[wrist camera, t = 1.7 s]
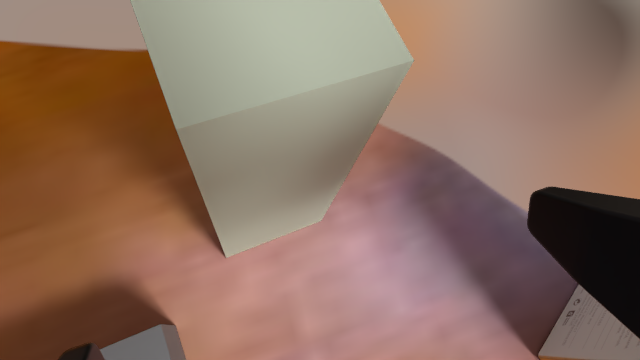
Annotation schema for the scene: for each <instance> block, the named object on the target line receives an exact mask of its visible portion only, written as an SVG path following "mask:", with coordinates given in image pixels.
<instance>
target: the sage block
mask: <svg viewBox="0 0 640 360" xmlns="http://www.w3.org/2000/svg"><path fill="white" fill-rule="evenodd" d="M130 1H131V4H132V7H133V10H134V12H135V15H136V18H137V21H138V24H139V27H140V29H141V32H142V35H143V38H144V41H145V43H146V46H147V49H148V52H149V55H150V58H151V60H152V63H153V66H154V69H155V72H156V75H157V77H158V80H159V83H160V86H161V89H162V91H163V94H164V97H165V100H166V103H167V106H168V108H169V111H170V114H171V117H172V120H173V122H174V125H175V128H176V131H177V133H178V136H179V138H180V141H181V144H182V146H183V149H184V151H185V154H186V156H187V159H188V161H189V164H190V167H191V169H192V172H193V174H194V177H195V179H196V182H197V184H198V187H199V190H200V192H201V195H202V197H203V200H204V202H205V205H206V207H207V210H208V213H209V215H210V218H211V220H212V223H213V225H214V228H215V230H216V233H217V236H218V238H219V241H220V243H221V246H222V248H223V251H224V253H225V256H226V258H228V257H230V256H233V255H235V254H238V253H240V252H243V251H246V250H248V249H251V248H253V247H256V246H258V245H261V244H263V243H266V242H269V241H271V240H274V239H276V238H279V237H281V236H284V235H287V234H289V233H292V232H294V231H297V230H299V229H302V228H304V227H307V226H310V225H312V224H315V223H317V222H320V221H321V220H322V219H323V217H324V215H325V213H326V212H327V210H328V208H329V206H330V205H331V203H332V201H333V200H334V198H335V196H336V194H337V193H338V191H339V189H340V187H341V186H342V184H343V182H344V181H345V179H346V177H347V175H348V174H349V172H350V170H351V169H352V167H353V165H354V163H355V162H356V160H357V158H358V156H359V155H360V153H361V151H362V150H363V148H364V146H365V144H366V143H367V141H368V139H369V137H370V136H371V134H372V132H373V131H374V129H375V127H376V125H377V124H378V122H379V120H380V118H381V117H382V115H383V113H384V111H385V110H386V108H387V106H388V105H389V103H390V101H391V99H392V98H393V96H394V94H395V93H396V91H397V89H398V87H399V86H400V84H401V82H402V80H403V79H404V77H405V75H406V74H407V72H408V70H409V68H410V67H411V65H412V63H413V62H414V59H413V58H412V56H411V54H410V52H409V51H408V49H407V47H406V46H405V44H404V42H403V40H402V39H401V37H400V35H399V34H398V32H397V30H396V28H395V27H394V25H393V23H392V22H391V20H390V18H389V16H388V15H387V13H386V12H385V9H384V8H383V6H382V4H381V3H380V1H379V0H130Z"/></svg>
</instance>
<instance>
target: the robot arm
mask: <svg viewBox="0 0 640 360" xmlns="http://www.w3.org/2000/svg"><path fill="white" fill-rule="evenodd" d="M527 226H528V229H529V231H530V233H531V234H532V235H533V236H534V237H535V238H536V239H537V241H538V242H539V243H540V244H541V245H542V246H543V247H544V248H545V249H546V250H547V251H548V252H549V253H550V254H551V255H552V256H553V258H554V259H555V260H556V261H557V262H558V263H559V264H560V265H561V266H562V267H563V268H564V269H565V270H566V271H567V272H568V273H569V275H570V276H571V277H572V278H573V279H574V280H575V281H576V282H577V283H578V284H579V285H580V286H581V287H582V288H583V289H584V290H586V291H587V292H588V293H589V294H590V295H591V296H592V297H593V298H594V299H595V300H596V301H598V302H599V303H600V304H601V305H602V306H603V307H604V308H605V309H607V310H608V311H609V312H610V313H611V314H612V315H613V316H614V317H615V318H617V319H618V320H619V321H620V322H621V323H622V324H623V325H624V326H625V327H627V328H628V329H629V330H630V331H631V332H632V333H633V334H634V335H636V336H637V337H638V338H639V339H640V199H634V198H626V197H619V196H613V195H606V194H599V193H592V192H585V191H579V190H572V189H565V188H558V187H546V188H543V189H540V190H537V191H535V192H533V194H532V195H531V197H530V203H529V211H528V219H527ZM58 360H105V359H104V357H103V355H102V353H101V351H100V349H99V348H98V346H97V345H96V344H95V343H91V342H90V343H86V344H83V345H80V346H77V347H74V348H71V349H69V350H67V351H65V352H64V353H63V354H62V355H61V356H60V358H59V359H58Z"/></svg>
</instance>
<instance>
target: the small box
mask: <svg viewBox="0 0 640 360" xmlns="http://www.w3.org/2000/svg"><path fill="white" fill-rule="evenodd" d="M538 357H539V359H540V360H640V339H639V338H638V337H637V336H636V335H634V334H633V333H632V332H631V331H630V330H629V329H628V328H627V327H625V326H624V325H623V324H622V323H621V322H620V321H619V320H618V319H617V318H615V317H614V316H613V315H612V314H611V313H610V312H609V311H608V310H607V309H605V308H604V307H603V306H602V305H601V304H600V303H599V302H598V301H596V300H595V299H594V298H593V297H592V296H591V295H590V294H589V293H588V292H587V291H586V290H584V289H583V288H582V287H581V286H580V285H578V286H577V288H576V290H575V291H574V293H573V295H572V297H571V298H570V300H569V302H568V304H567V305H566V307H565V309H564V310H563V312H562V314H561V316H560V317H559V319H558V321H557V322H556V324H555V326H554V328H553V329H552V331H551V333H550V335H549V336H548V338H547V340H546V342H545V343H544V345H543V347H542V349H541V350H540V352H539V354H538Z"/></svg>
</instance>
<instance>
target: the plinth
mask: <svg viewBox="0 0 640 360" xmlns="http://www.w3.org/2000/svg"><path fill="white" fill-rule="evenodd" d="M100 351H101V353H102V355H103V357H104V359H105V360H186V358H185V355H184V351H183V348H182V345H181V342H180V338H179V335H178V332H177V329H176V326H175V325H165V324H160V325H157V326H155V327H152V328H150V329H148V330H145V331H143V332H140V333H138V334H136V335H133V336H131V337H128V338H126V339H124V340H121V341H119V342H116V343H114V344H112V345H109V346H107V347H105V348H102V349H100Z"/></svg>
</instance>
